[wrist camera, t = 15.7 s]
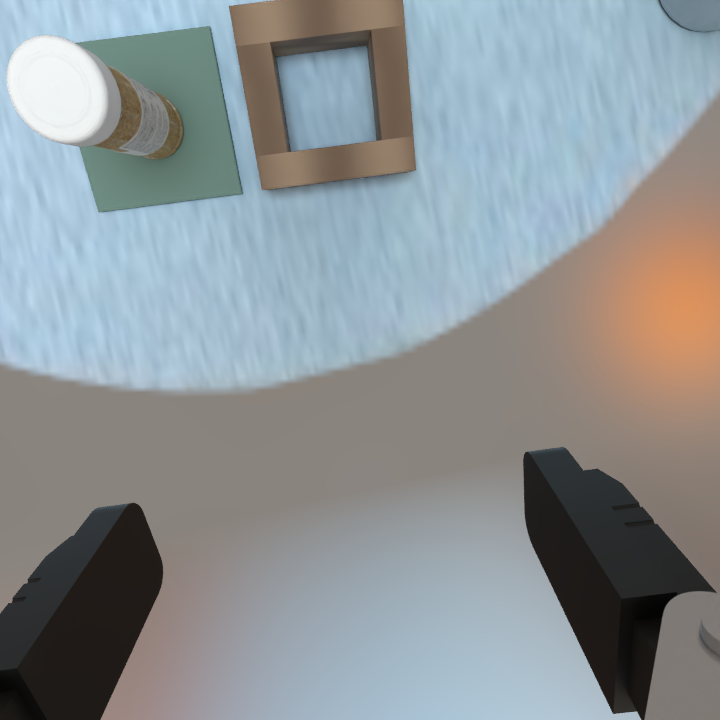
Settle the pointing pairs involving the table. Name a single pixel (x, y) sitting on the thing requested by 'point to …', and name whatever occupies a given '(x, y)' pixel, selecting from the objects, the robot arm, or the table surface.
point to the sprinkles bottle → (89, 101)
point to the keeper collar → (319, 33)
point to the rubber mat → (198, 114)
